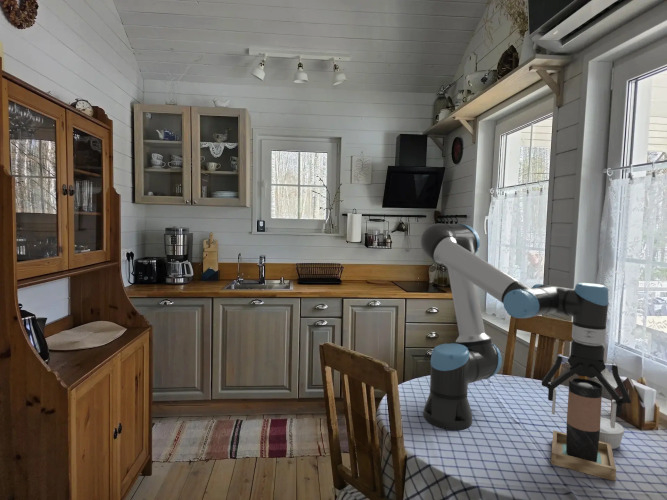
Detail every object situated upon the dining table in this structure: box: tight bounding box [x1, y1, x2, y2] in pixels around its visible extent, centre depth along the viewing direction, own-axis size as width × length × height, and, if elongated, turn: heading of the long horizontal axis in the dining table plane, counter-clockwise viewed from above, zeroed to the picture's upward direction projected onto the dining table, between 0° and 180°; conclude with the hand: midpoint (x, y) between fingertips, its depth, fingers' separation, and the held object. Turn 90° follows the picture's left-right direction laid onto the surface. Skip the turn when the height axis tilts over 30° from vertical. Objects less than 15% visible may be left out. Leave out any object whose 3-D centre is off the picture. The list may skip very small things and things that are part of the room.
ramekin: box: [599, 416, 625, 450], centre depth 119 cm, size 11×11×5 cm
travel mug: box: [566, 377, 603, 462], centre depth 109 cm, size 8×8×20 cm
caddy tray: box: [550, 429, 617, 482], centre depth 109 cm, size 14×14×3 cm
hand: (581, 419), depth 109 cm, fingers open, 13 cm apart
